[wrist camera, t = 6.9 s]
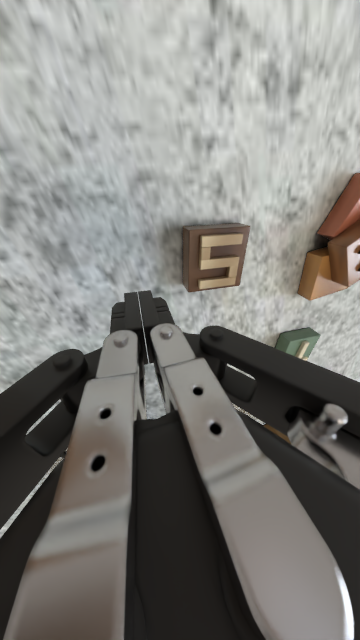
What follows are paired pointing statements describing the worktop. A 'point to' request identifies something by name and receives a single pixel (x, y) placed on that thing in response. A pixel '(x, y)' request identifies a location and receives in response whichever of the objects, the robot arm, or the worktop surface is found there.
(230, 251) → the letter S
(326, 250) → the letter pile
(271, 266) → the worktop surface
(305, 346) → the letter T
